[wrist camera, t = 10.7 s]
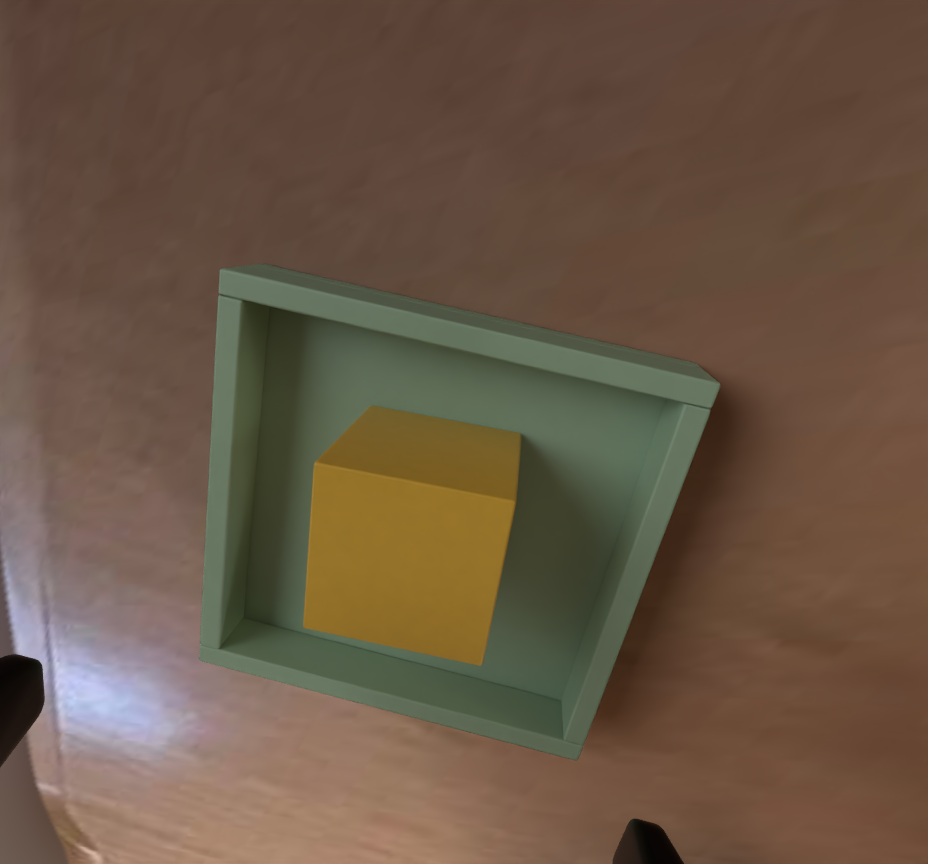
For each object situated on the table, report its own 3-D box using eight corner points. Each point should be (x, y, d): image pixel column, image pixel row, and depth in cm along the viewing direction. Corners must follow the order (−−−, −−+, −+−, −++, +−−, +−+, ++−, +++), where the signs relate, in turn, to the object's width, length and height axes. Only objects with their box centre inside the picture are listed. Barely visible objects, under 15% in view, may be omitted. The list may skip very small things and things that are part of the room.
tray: (573, 703, 18) (578, 762, 16) (234, 615, 18) (198, 661, 16) (696, 362, 14) (722, 383, 12) (262, 262, 14) (218, 267, 12)
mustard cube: (495, 565, 16) (482, 667, 12) (356, 536, 16) (301, 629, 12) (522, 432, 14) (516, 501, 11) (370, 404, 15) (312, 461, 11)
